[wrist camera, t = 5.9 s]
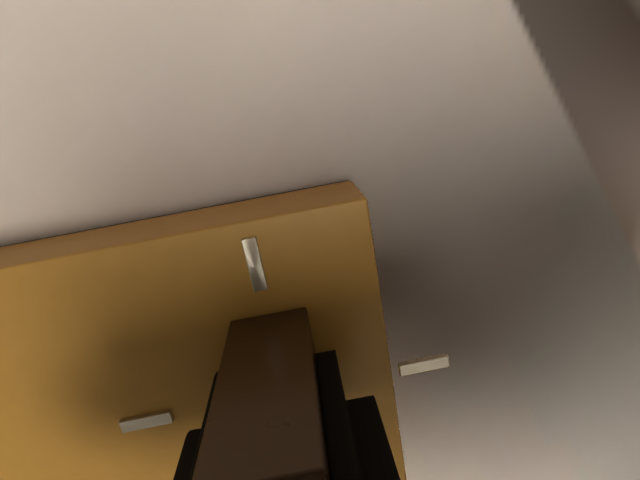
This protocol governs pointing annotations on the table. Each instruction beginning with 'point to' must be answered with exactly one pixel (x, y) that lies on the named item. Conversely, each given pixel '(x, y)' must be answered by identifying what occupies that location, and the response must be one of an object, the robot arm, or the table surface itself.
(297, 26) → the table surface
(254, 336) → the lock knob
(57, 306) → the plate
